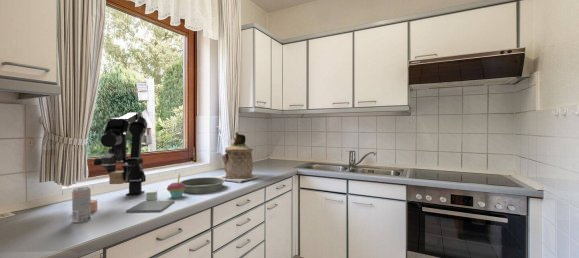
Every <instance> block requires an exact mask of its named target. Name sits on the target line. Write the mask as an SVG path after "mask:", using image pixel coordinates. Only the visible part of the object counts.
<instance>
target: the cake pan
mask: <svg viewBox="0 0 579 258" xmlns="http://www.w3.org/2000/svg"><path fill="white" fill-rule="evenodd" d="M180 182H181V183H183V184H184V185H185V186H186V187H185V190H184V191H183V193H187V194H205V193H212V192H217V191H220V190H221V189H222V187H223V184H224V182H225V180H224V179H221V178H214V176H213V177H209V176H208V177H207V176H206V177H194V178H193V177H192V178H187V179H183V180H181V181H180Z"/></svg>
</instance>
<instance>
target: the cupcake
mask: <svg viewBox="0 0 579 258" xmlns="http://www.w3.org/2000/svg"><path fill="white" fill-rule="evenodd" d="M180 177H181V173H179V174H178V178H177V182H171V184H168V186H167V187H166V190H167V192H169V193H170V196H171V198H172V199H173V198H175V199H177V198H182V196H183V193H184V192H183V191H184V190H185V187H186V186H185V185H184V184H183V183H181V181H180Z"/></svg>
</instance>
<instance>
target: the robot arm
mask: <svg viewBox="0 0 579 258" xmlns="http://www.w3.org/2000/svg"><path fill="white" fill-rule="evenodd" d="M147 129H148V122H147V120H146V118H145V117H143V116H141V115H140V113H138V112H127V114H125V115H122V116H120V117H110V118H109V119H108V121H107V123H106V126H105V129H104V135H102V136H101V138H100V143H101V145H102V146H103V147H104V148H105V147H106V148H109V149H108V152H106V153H105V154H104V155H102V156H101V157H99V158H95V159H94V161H93V166H100V167H102V168H104V169H105V170H106V172H107V173H108V174H109V173H110V172H114V171H116V168H117V164H124V165H122V166H121V167H122V168H123V171H124V181H125V180H126V179H127V177H128V182H126V183H125V184H128V192H127V193H125V195H126V196H137V195H141V194H143V193H145V190H143V189H142V187H143V185H142V184H143V183H145V182H146V181H147V180H146V179H147V178H146V177H147V176H146V174H145V171H144V167H143V166H142V164H144V159H143V157H141V156H142V155H141V154H142V141H143V136H144V135H145V133H146V131H147ZM128 131H129V134H131V145H130V155H129V156H128V155H127V151H129V147H127V136H128V133H127V132H128ZM129 157H130V158H129Z"/></svg>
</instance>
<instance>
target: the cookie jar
mask: <svg viewBox="0 0 579 258" xmlns="http://www.w3.org/2000/svg"><path fill="white" fill-rule="evenodd" d="M234 135H235V136H234V137H233V140H234V142H233V143H232V144H230V145H229V146H228V147H225V150H224V152H225V153H224V155H222V157H221V159H222V162H223V163H224V165H223V170H224V172H225V174H223V175H214V176H213V178H221V179H224V181H228V182H235V183H239V184H241V183H242V182H247V181H249V180H254V179H255V180H256V179H260V178H262V177H263V174H258V173H257V174H255V173H253V169H254V168H253V167H254V165H253V155H252V154H253V153H252V152H253V150H254V148H252V147H249V146H247V145H246V141H247V140H246V135H245V134H242V133H239V132H238V131H236V132H235V134H234Z"/></svg>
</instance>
